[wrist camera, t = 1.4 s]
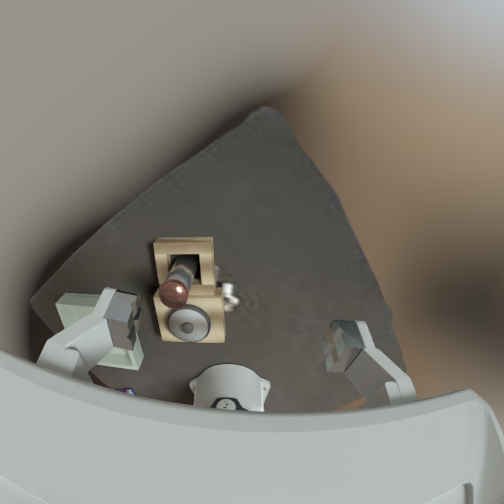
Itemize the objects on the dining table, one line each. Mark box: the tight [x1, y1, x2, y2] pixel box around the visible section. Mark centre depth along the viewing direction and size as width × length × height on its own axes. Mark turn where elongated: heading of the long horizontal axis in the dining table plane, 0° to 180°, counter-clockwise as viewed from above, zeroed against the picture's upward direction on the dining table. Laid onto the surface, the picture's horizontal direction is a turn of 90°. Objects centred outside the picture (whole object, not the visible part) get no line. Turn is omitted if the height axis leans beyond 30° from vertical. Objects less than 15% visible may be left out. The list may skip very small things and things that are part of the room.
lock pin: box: [159, 254, 198, 309], centre depth 43 cm, size 4×4×11 cm
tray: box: [55, 293, 144, 370], centre depth 51 cm, size 16×16×4 cm
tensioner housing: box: [153, 237, 225, 343], centre depth 47 cm, size 20×12×6 cm, turn 0°
